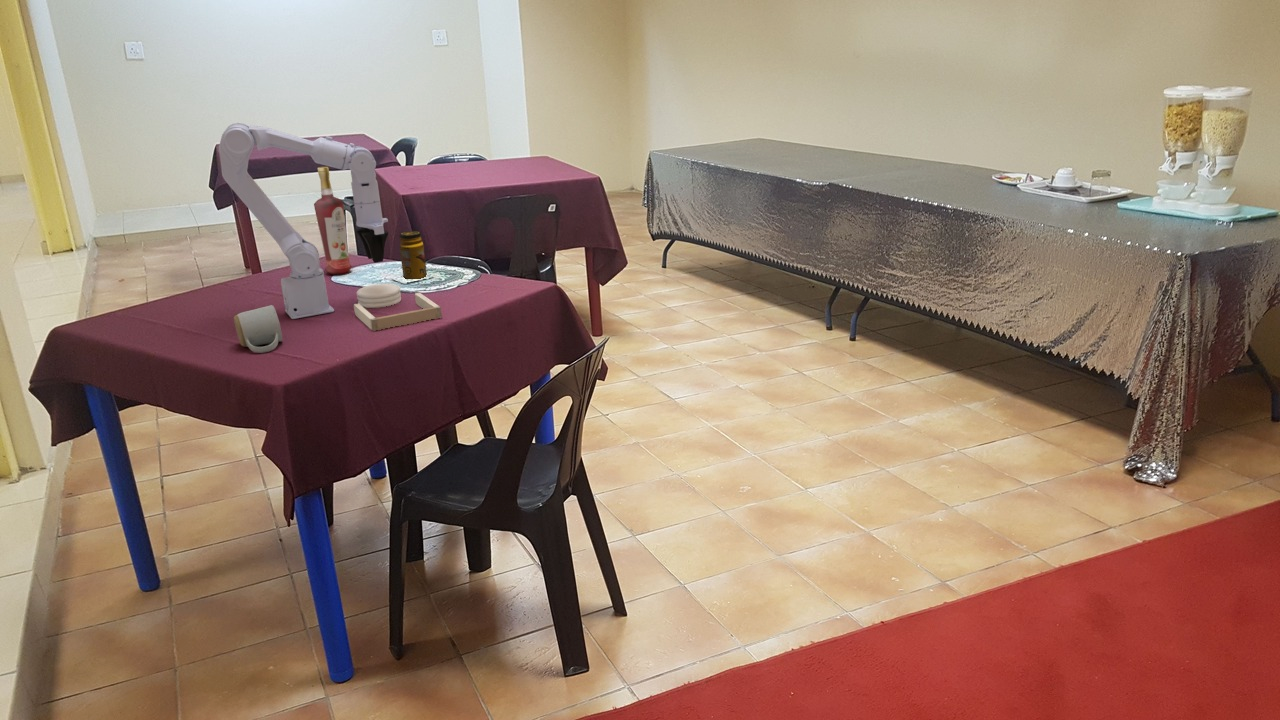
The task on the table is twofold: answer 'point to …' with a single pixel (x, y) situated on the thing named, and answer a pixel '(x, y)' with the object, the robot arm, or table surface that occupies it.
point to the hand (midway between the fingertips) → (375, 260)
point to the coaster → (379, 295)
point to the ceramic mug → (258, 328)
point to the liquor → (332, 227)
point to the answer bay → (400, 315)
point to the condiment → (412, 255)
